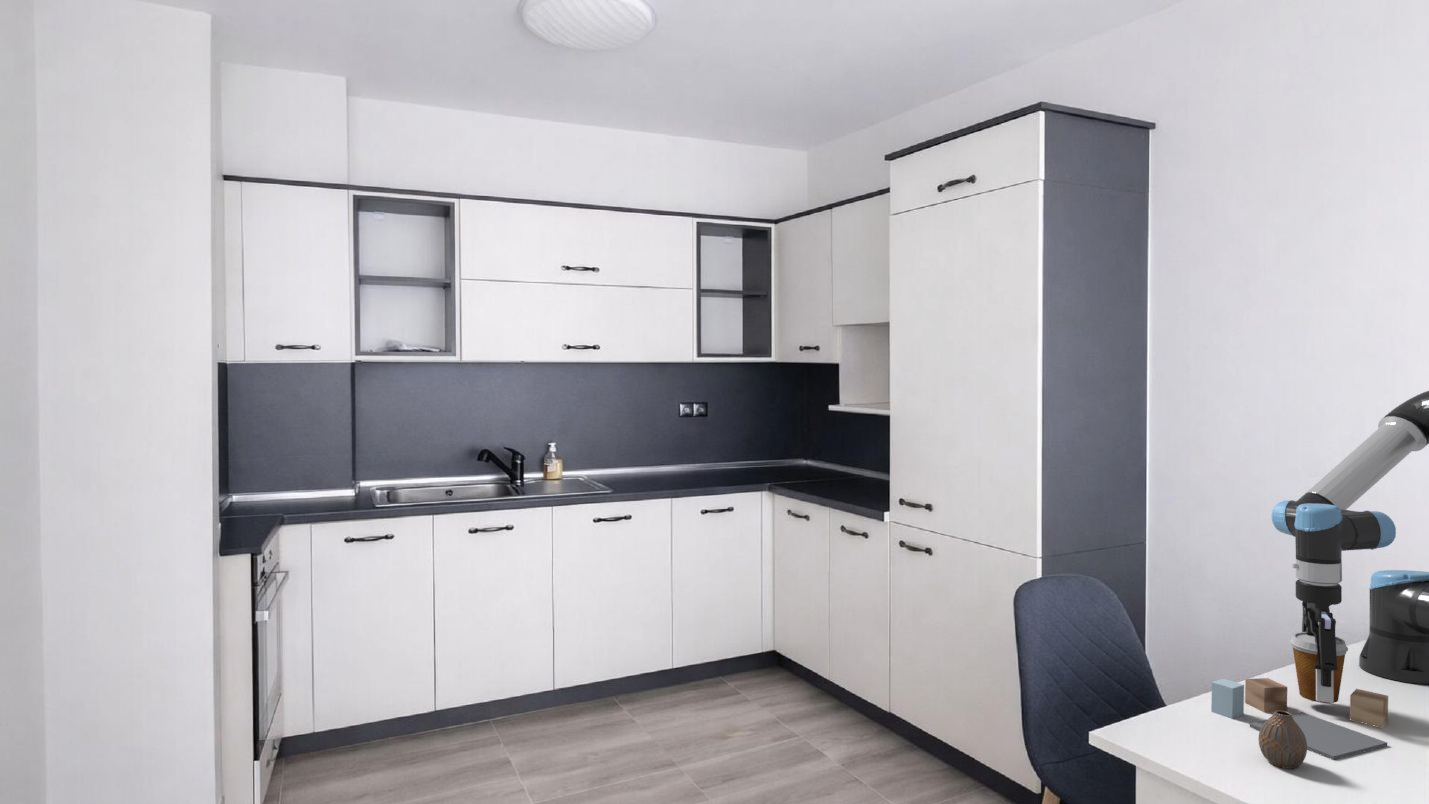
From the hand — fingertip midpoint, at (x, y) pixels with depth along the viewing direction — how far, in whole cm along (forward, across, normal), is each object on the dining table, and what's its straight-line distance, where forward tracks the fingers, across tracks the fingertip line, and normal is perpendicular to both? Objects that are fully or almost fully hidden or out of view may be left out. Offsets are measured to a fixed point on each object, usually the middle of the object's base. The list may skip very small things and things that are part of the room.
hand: (1318, 693), depth 168 cm
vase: (+2, +32, -13) cm, 35 cm away
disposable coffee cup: (+1, 0, 0) cm, 1 cm away
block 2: (+3, +4, -10) cm, 11 cm away
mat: (+3, +17, -4) cm, 17 cm away
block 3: (+3, +4, +7) cm, 9 cm away
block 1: (-1, +12, -16) cm, 20 cm away
